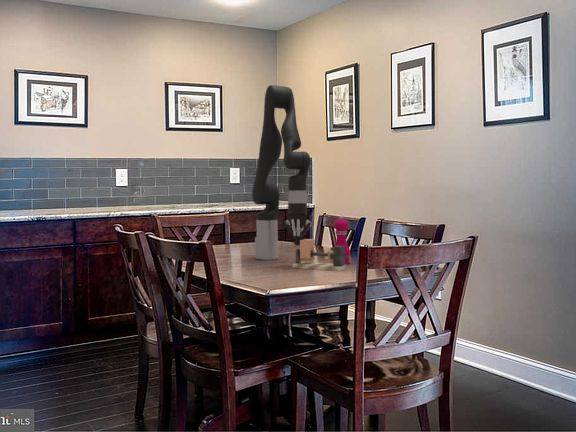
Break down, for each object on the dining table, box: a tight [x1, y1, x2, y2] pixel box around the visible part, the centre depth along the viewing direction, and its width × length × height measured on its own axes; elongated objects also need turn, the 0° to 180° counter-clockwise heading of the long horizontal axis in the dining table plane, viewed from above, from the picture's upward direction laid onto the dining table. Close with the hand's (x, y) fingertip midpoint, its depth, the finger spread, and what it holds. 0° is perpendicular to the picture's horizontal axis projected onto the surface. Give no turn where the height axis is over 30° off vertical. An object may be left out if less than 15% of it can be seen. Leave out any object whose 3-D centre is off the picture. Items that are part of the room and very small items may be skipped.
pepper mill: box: [333, 214, 351, 265], centre depth 234 cm, size 7×7×20 cm
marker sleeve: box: [299, 238, 316, 261], centre depth 224 cm, size 4×5×8 cm
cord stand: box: [291, 245, 347, 272], centre depth 222 cm, size 20×7×9 cm, turn 62°
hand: (298, 245), depth 226 cm, fingers closed
